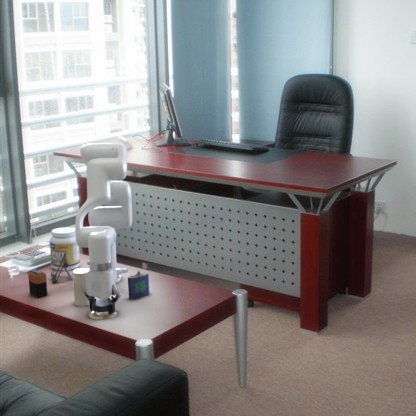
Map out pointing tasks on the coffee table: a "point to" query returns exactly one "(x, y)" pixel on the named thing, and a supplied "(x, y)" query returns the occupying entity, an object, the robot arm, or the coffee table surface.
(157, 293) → the coffee table surface
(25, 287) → the coffee table surface
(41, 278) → the battery
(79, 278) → the jar
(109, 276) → the robot arm
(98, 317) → the coaster
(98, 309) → the lid
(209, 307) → the coffee table surface
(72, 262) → the supplement tub
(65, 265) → the tablet stand
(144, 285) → the flask
